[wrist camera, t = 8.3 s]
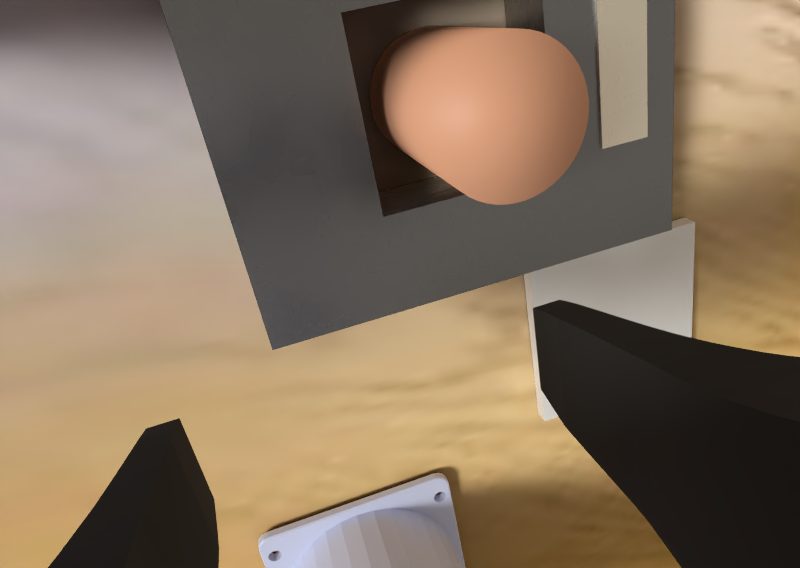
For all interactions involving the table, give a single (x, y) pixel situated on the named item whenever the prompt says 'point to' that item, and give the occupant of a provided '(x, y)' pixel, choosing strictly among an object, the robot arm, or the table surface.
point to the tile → (622, 286)
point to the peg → (483, 107)
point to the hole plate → (420, 201)
